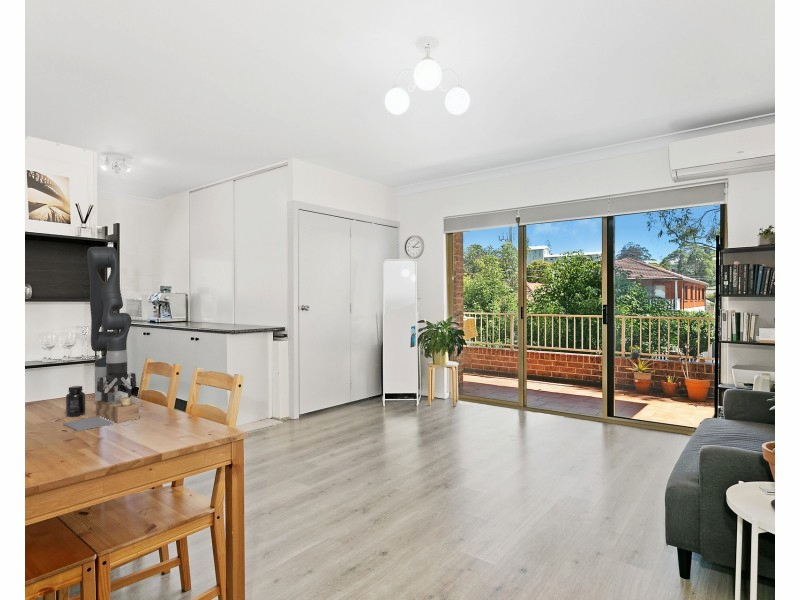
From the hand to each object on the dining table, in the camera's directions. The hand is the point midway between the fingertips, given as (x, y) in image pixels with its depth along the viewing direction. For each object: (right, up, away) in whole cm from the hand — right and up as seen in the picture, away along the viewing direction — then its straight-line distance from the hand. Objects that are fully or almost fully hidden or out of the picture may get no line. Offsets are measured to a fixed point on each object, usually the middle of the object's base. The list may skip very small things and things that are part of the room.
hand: (117, 400), depth 198 cm
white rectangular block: (0, -1, 0) cm, 1 cm away
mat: (-5, -7, -11) cm, 14 cm away
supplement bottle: (-19, -7, +3) cm, 21 cm away
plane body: (0, -7, 0) cm, 7 cm away
